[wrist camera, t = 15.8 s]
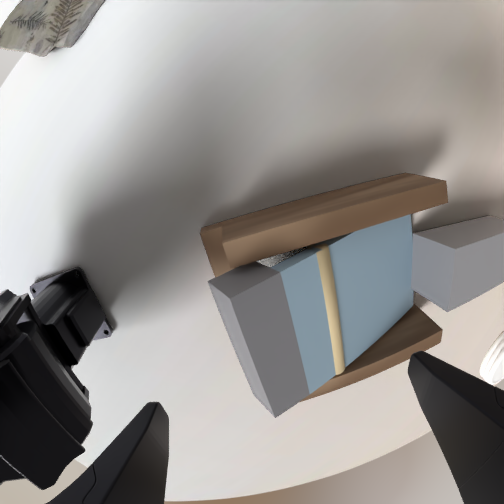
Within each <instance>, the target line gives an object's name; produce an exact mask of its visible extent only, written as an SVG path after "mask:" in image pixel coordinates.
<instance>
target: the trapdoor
mask: <svg viewBox="0 0 504 504" xmlns="http://www.w3.org/2000/svg"><path fill="white" fill-rule="evenodd" d="M412 253H413V239H412V224H411V214H410V215H406V216H403V217H400V218H397V219H393V220H390V221H387V222H384V223H381V224H377V225H374V226H371V227H368V228H364V229H361V230H358V231H354V232H351V233H348V234H345V235H341V236H338V237H335V238H331V239H328V240H325V241H322V242H319V243H316V244H312V245H310V246H308V247H307V248H306V249H305V250H303V251H301V252H300V253H298V254H296V255H294V256H292V257H290V258H288V259H286V260H284V261H282V262H280V263H278V264H276V265H274V266H272V267H270V268H269V267H267V266H265V265H262V264H260V263H258V262H251V263H248V264H244V265H241V266H239V267H236V268H234V269H232V270H230V271H228V272H226V273H224V274H222V275H220V276H218V277H216V278H213V279H211V280H209V281H208V283H209V286H210V289H211V291H212V294H213V297H214V299H215V302H216V304H217V307H218V310H219V312H220V315H221V317H222V320H223V322H224V325H225V327H226V330H227V332H228V335H229V337H230V340H231V342H232V345H233V347H234V350H235V352H236V354H237V357H238V359H239V362H240V364H241V366H242V369H243V371H244V373H245V376H246V378H247V380H248V383H249V385H250V387H251V390H252V392H253V394H254V396H255V397H256V398H257V399H258V400H259V401H260V402H261V403H262V404H263V405H264V406H265V407H266V409H267V410H268V411H269V412H270V413H271V414H272V415H273V416H274V417H275V418H276V417H277V416H279V415H281V414H282V413H284V412H285V411H287V410H288V409H290V408H291V407H293V406H294V405H296V404H297V403H298V402H300V401H301V400H303V399H304V398H306V397H307V396H308V395H310V394H311V393H313V392H314V391H315V390H317V389H318V388H319V387H321V386H322V385H323V384H325V383H326V382H327V381H329V380H330V379H331V378H333V377H334V376H335V375H338V374H341V373H342V372H343V371H344V370H345V367H346V366H348V365H349V364H350V363H351V362H353V361H354V360H355V359H356V358H357V357H359V356H360V355H361V354H362V353H363V352H364V351H366V350H367V349H368V348H369V347H370V346H371V345H372V344H374V343H375V342H376V341H377V340H378V339H379V338H380V337H381V336H382V335H383V334H385V333H386V332H387V331H388V330H389V329H390V328H391V327H392V326H393V325H394V324H395V323H396V322H397V321H398V320H399V319H400V318H401V317H402V316H403V315H404V314H405V313H406V312H407V311H408V310H409V309H410V308H411V307H412V306H413V295H414V290H412V289H411V276H412Z"/></svg>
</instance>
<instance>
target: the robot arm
mask: <svg viewBox="0 0 504 504" xmlns="http://www.w3.org/2000/svg"><path fill="white" fill-rule="evenodd" d="M76 272H78V274H79V276H78V275H77V274H76ZM34 288H35V289H34ZM35 290H36V291H35ZM30 291H31V293H32V295H33V297H34V299H33V300H32V301H31V299H30V296H29V294H28V293H27V294H24V295H21V296H17V295H16V294H13V293H12V292H11V291H9V290H8V289H7V290H5V291H3V292H2V293H0V485H1V484H2V483H3V482H5V481H12V480H19V479H27V480H29V481H30V482H32V484H34V485H35V486H37V487H38V488H39V489H41V490H44V489H47V488H49V487H51V486H52V485H54V484H55V483H56V481H57V479H58V478H59V476H60V475H61V473H62V472H63V470H64V469H65V467H66V466H67V465H68V464H69V463H70V462H71V461H72V460H73V459H74V458H76V457H78V456H79V455H81V454H82V453H84V452H85V448H84V447H83V446H82V444H83V442H84V441H85V439H86V438H87V436H88V435H89V433H90V431H91V428H92V425H93V422H92V421H91V420H90V419H91V406H90V403H89V391H88V390H87V388H86V387H85V386H83V385H82V384H81V382H80V381H79V380H78V378H77V377H76V375H75V374H74V373H73V371H72V368H73V366H74V365H77V364H78V363H79V361H80V359H81V357H82V355H83V354H84V352H85V350H86V348H87V347H88V346H90V344H91V342H92V341H93V340H97V339H102V338H107V337H110V336H111V335H112V333H113V330H112V327H111V326H110V324H109V322H108V320H107V318H106V315H105V313H104V311H103V310H102V308H101V306H100V304H99V302H98V300H97V298H96V296H95V294H94V292H93V291H92V289H91V287H90V285H89V283H88V281H87V279H86V276H85V274H84V272H83V270H82V269H81V268H79V267H76V268H73V269H70V270H68V271H65V272H62V273H60V274H57V275H54V276H52V277H49V278H47V279H44V280H41V281H39V282H36V283H34V284H33V285H31V286H30ZM106 330H107V331H108V332H106ZM408 375H409V378H410V380H411V383H412V385H413V388H414V391H415V393H416V396H417V399H418V401H419V404H420V406H421V409H422V411H423V413H424V415H425V417H426V419H427V421H428V423H429V425H430V427H431V429H432V431H433V433H434V435H435V437H436V439H437V441H438V443H439V445H440V447H441V450H442V452H443V454H444V456H445V459H446V461H447V463H448V465H449V467H450V470H451V472H452V475H453V477H454V479H455V482H456V484H457V486H458V488H459V492H460V494H461V497H462V499H463V502H464V504H504V390H501V389H499V388H497V387H494V386H493V385H491V384H489V383H487V382H485V381H483V380H481V379H479V378H477V377H475V376H473V375H471V374H468V373H466V372H464V371H462V370H460V369H458V368H456V367H454V366H452V365H450V364H448V363H446V362H444V361H442V360H440V359H438V358H436V357H434V356H432V355H430V354H428V353H426V352H424V351H418V352H415V353H413V354H412V355H411V358H410V362H409V367H408ZM168 459H169V418H168V415H167V413H166V412H165V410H164V408H163V407H162V405H161V404H160V403H159V402H148V403H147V404H146V405H145V406H144V407H143V408H142V410H141V411H140V412H139V413H138V414H137V415H136V416H135V417H134V418H133V420H132V421H131V422H130V423H129V424H128V425H127V426H126V427H125V428H124V430H123V431H122V432H121V433H120V434H119V435H118V436H117V437H116V438H115V439H114V440H113V442H112V443H111V444H110V445H109V446H108V447H107V448H106V449H105V450H104V451H103V452H102V454H101V455H100V456H99V457H98V458H97V459H96V460H95V461H94V462H93V464H91V465H90V466H89V467H88V468H87V470H86V471H85V472H84V473H83V474H82V475H81V476H80V477H79V478H78V479H76V480H75V481H74V482H73V483H72V484H71V485H70V486H69V487H67V488H66V489H65V490H63V491H62V492H61V493H60V494H59V495H57V496H56V497H55V498H54V499H52V500H51V501H50V502H48V503H46V504H164V498H165V488H166V478H167V468H168Z"/></svg>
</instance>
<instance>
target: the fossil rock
mask: <svg viewBox="0 0 504 504" xmlns="http://www.w3.org/2000/svg"><path fill="white" fill-rule="evenodd" d="M103 2H104V0H22V1H21V2H20V3H19V4H18V5H17V6H16V7H15V9H14V10H13V11H12V12H11V13H10V15H9V16H8V18H7V19H6V21H5V22H4V24H3V25H2V27H1V29H0V49H5V50H12V51H20V52H29V53H32V54H35V55H37V56H41V57H44V56H46V55H47V54H48V53H49V52H50V51H51V50H52V49H54V47H58V48H62V47H72V46H73V45H74V43H75V42H76V40H77V39H78V37H79V36H80V35H81V34H82V33H83V32H84V30H85V29H86V28H87V26H88V25H89V23H90V21H91V20H92V18H93V16H94V15H95V13H96V12H97V10H98V9H99V8H100V6H101V5H102V3H103Z"/></svg>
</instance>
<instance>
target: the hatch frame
mask: <svg viewBox="0 0 504 504" xmlns="http://www.w3.org/2000/svg"><path fill="white" fill-rule="evenodd" d="M445 203H448V196H447V184H446V181H444V180H440V179H435V178H430V177H425V176H420V175H415V174H409V173H403V174H399V175H394V176H390V177H386V178H382V179H377V180H373V181H369V182H365V183H361V184H357V185H353V186H349V187H345V188H341V189H337V190H333V191H330V192H326V193H322V194H318V195H314V196H311V197H307V198H303V199H299V200H296V201H292V202H288V203H285V204H281V205H278V206H274V207H271V208H267V209H264V210H260V211H257V212H253V213H250V214H246V215H243V216H239V217H236V218H233V219H229V220H226V221H223V222H219V223H216V224H213V225H209V226H206V227H203V228H201V232H200V235H201V238H202V241H203V244H204V247H205V250H206V253H207V256H208V259H209V261H210V264H211V267H212V270H213V273H214V275H215V278H216V277H218V276H220V275H222V274H224V273H226V272H228V271H230V270H232V269H234V268H236V267H238V266H241V265H244V264H248V263H251V262H255V261H258V260H261V259H265V258H268V257H271V256H275V255H278V254H282V253H285V252H288V251H292V250H295V249H298V248H302V247H305V246H308V245H312V244H315V243H318V242H322V241H325V240H328V239H331V238H335V237H338V236H341V235H345V234H348V233H351V232H354V231H358V230H361V229H364V228H368V227H371V226H374V225H377V224H381V223H384V222H387V221H390V220H393V219H397V218H400V217H403V216H406V215H410V214H413V213H416V212H419V211H422V210H426V209H429V208H432V207H435V206H438V205H441V204H445ZM441 337H442V329H441V328H440V327H439V326H438V325H437V324H436V323H435V322H434V321H433V320H432V319H431V318H429V317H428V316H427V315H426V314H425V313H424V312H423V311H422V310H421V309H420V308H418V307H417V306H416V305H415V304H414V303H413V306H412V307H411V308H410V309H409V310H408V311H407V312H406V313H405V314H404V315H403V316H402V317H401V318H400V319H399V320H398V321H397V322H396V323H395V324H394V325H393V326H392V327H391V328H390V329H389V330H388V331H387V332H386V333H385V334H383V335H382V336H381V337H380V338H379V339H378V340H377V341H376V342H375V343H374V344H372V345H371V346H370V347H369V348H368V349H367V350H366V351H364V352H363V353H362V354H361V355H360V356H359V357H357V358H356V359H355V360H354V361H353V362H351V363H350V364H349V365H348V366H346V367H345V370H344V371H343V372H342V373H341V374H338V375H335V376H334V377H333V378H331V379H330V380H329V381H327V382H326V383H325V384H323V385H322V386H321V387H319V388H318V389H317V390H315V391H314V392H313V393H311V394H310V395H308V396H307V397H306V398H304V399H303V400H301V401H305V400H308V399H311V398H314V397H317V396H320V395H323V394H326V393H329V392H332V391H334V390H337V389H340V388H343V387H345V386H348V385H351V384H353V383H356V382H358V381H361V380H363V379H366V378H368V377H371V376H373V375H375V374H378V373H380V372H382V371H384V370H387V369H389V368H391V367H393V366H395V365H398V364H400V363H402V362H404V361H406V360H408V359H410V358H411V355H412V354H413V353H415V352H418V351H426V350H428V349H429V348H431V347H433V346H435V345H437V344H439V343H440V342H441ZM301 401H300V402H301Z"/></svg>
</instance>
